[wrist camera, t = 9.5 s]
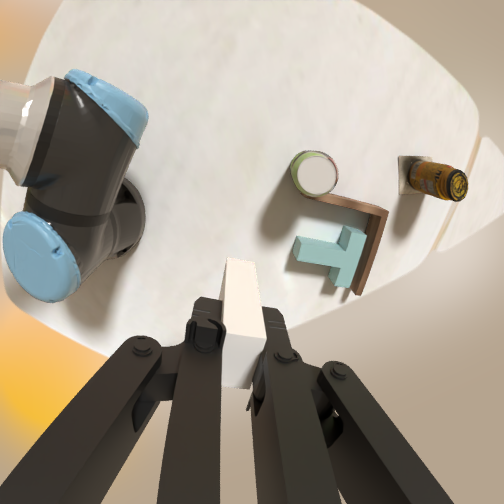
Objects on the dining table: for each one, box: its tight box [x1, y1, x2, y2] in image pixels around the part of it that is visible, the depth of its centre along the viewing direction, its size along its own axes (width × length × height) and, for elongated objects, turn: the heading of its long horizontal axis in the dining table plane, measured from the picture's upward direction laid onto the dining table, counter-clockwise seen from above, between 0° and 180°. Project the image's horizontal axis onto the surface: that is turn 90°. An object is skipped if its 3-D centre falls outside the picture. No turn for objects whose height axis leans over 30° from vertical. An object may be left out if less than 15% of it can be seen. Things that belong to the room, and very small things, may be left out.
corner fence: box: [301, 192, 389, 296], centre depth 46 cm, size 15×16×4 cm
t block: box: [293, 226, 367, 288], centre depth 47 cm, size 11×10×4 cm
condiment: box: [399, 156, 468, 202], centre depth 39 cm, size 7×8×12 cm
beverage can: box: [290, 151, 339, 197], centre depth 38 cm, size 6×7×12 cm
